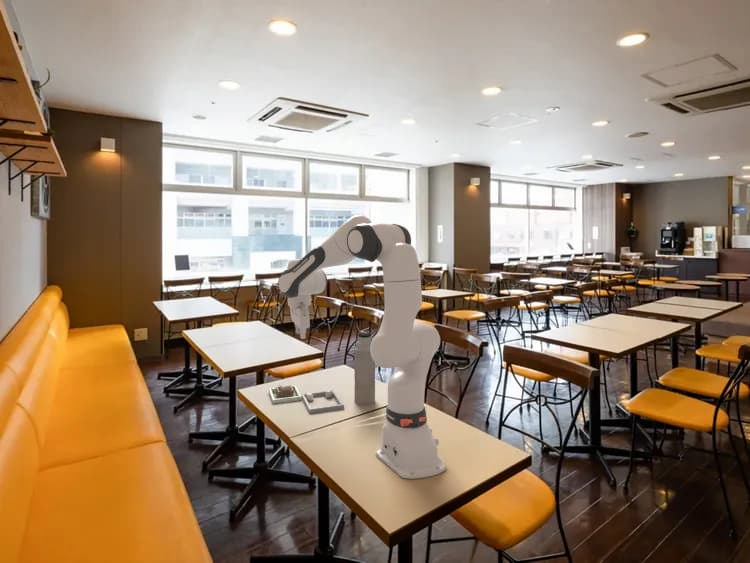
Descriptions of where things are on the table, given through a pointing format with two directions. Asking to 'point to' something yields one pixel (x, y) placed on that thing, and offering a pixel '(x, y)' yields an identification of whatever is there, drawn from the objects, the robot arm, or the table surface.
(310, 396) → the pebble
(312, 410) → the slate tray
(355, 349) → the thermos bottle
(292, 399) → the green tray
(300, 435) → the table surface
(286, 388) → the stone
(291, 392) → the scoop cup
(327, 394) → the pebble
